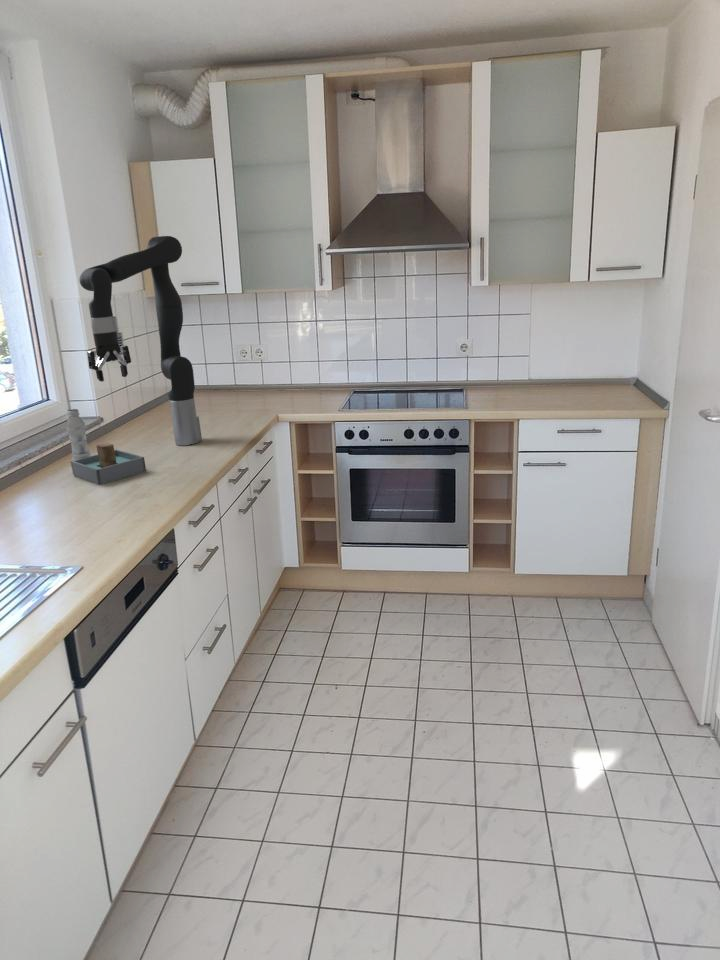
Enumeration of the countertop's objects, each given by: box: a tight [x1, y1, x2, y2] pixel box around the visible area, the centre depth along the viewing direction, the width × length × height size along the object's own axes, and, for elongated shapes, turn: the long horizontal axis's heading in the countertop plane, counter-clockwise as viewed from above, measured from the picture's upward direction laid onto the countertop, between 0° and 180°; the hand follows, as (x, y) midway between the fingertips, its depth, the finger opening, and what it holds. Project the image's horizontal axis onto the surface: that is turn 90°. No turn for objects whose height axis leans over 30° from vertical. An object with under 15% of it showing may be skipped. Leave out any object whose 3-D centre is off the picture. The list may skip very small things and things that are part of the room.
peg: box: [96, 442, 117, 468], centre depth 237 cm, size 4×4×10 cm
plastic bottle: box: [65, 408, 92, 461], centre depth 247 cm, size 6×7×20 cm
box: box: [70, 449, 147, 486], centre depth 237 cm, size 17×18×5 cm
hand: (113, 378), depth 241 cm, fingers open, 8 cm apart
